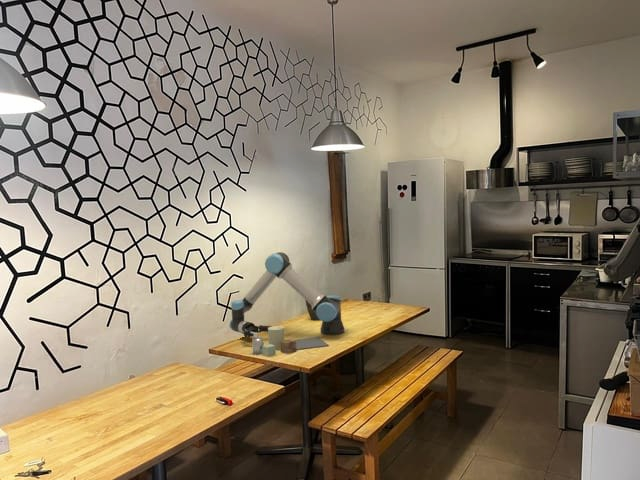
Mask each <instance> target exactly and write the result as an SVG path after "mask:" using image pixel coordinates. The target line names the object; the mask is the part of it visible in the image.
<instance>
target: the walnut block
mask: <svg viewBox="0 0 640 480" xmlns="http://www.w3.org/2000/svg"><path fill="white" fill-rule="evenodd" d="M295 340H296V339H290V338H288V339H284V341H281V350H280V353H283V354H287V355H289V354H292V353H296V352H297V350H296V341H295Z"/></svg>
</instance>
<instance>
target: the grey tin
mask: <svg viewBox="0 0 640 480" xmlns="http://www.w3.org/2000/svg"><path fill="white" fill-rule="evenodd" d="M251 341H252V345H251V346H252V354H253V355H255V354H256V356H257V355H263V354H262V346H264V345H265V344H264V337H261V336H258V337H255V338H254V337H252V339H251Z"/></svg>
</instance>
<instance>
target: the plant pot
mask: <svg viewBox="0 0 640 480" xmlns="http://www.w3.org/2000/svg"><path fill="white" fill-rule="evenodd" d="M304 300H305V299H304ZM305 305H306V306H305V307H306V310H307V312H308V316H309V318H310V320H312V321H321V320H320V319H319V318H318V317H317V315H316V313H315V312H314V311H313V310H312V306H311V304H309V303H308V302H307V301H306V300H305Z"/></svg>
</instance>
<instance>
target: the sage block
mask: <svg viewBox="0 0 640 480" xmlns="http://www.w3.org/2000/svg"><path fill="white" fill-rule="evenodd" d="M261 355H262V356H265V357H271V356H275V355H277V354H276V350H275V345H272V344H269V343H268V344H264V346H262V354H261Z"/></svg>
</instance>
